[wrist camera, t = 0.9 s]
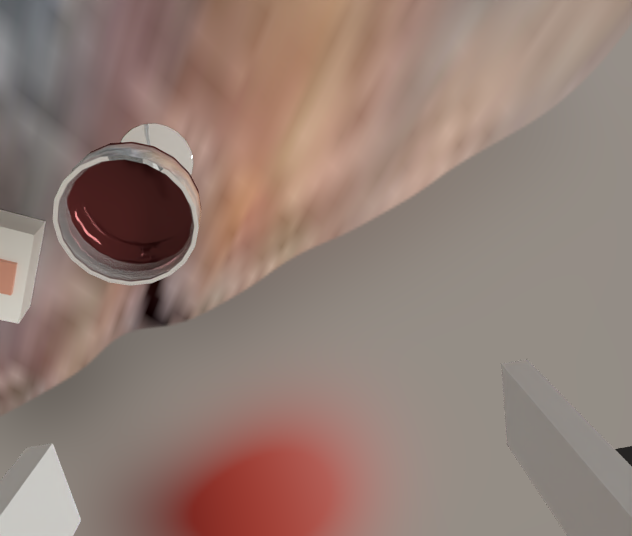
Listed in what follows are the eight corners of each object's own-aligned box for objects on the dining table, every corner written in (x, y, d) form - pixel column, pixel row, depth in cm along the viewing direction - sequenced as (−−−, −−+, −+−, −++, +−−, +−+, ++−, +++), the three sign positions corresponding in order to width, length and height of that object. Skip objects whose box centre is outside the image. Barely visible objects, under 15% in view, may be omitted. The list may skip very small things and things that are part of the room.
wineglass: (91, 187, 36) (36, 262, 25) (118, 92, 33) (70, 130, 23) (188, 220, 38) (175, 302, 27) (220, 133, 35) (219, 184, 25)
